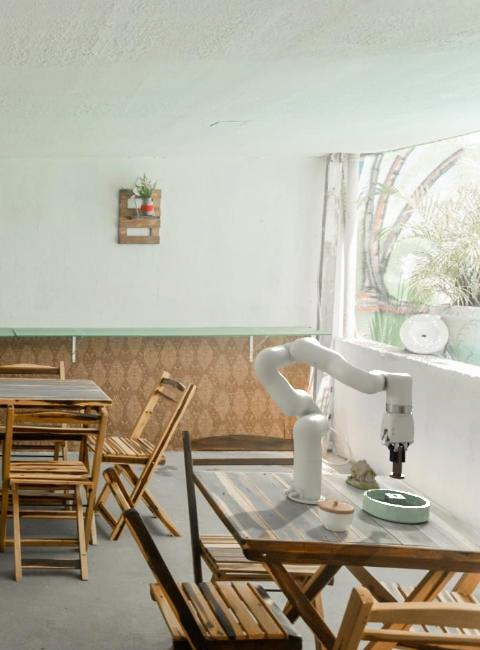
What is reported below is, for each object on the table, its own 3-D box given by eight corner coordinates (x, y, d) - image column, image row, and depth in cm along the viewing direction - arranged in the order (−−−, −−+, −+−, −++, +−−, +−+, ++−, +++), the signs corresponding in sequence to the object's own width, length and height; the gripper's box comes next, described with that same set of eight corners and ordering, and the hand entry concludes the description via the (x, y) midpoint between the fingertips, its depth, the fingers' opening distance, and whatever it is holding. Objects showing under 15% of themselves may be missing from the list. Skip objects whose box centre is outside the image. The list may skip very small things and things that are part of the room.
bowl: (396, 527, 225) (397, 509, 225) (350, 507, 244) (350, 491, 244) (443, 522, 230) (443, 505, 230) (394, 503, 249) (394, 487, 249)
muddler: (397, 479, 229) (398, 447, 229) (386, 476, 234) (387, 444, 233) (407, 478, 230) (408, 447, 230) (396, 475, 235) (397, 444, 234)
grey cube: (399, 507, 241) (400, 494, 241) (405, 512, 237) (405, 498, 236) (384, 506, 242) (384, 493, 242) (389, 511, 238) (390, 497, 237)
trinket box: (352, 536, 216) (353, 508, 216) (315, 530, 222) (316, 502, 222) (354, 526, 225) (355, 499, 225) (318, 520, 231) (319, 493, 231)
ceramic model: (342, 478, 279) (342, 454, 278) (371, 479, 277) (372, 456, 277) (356, 489, 265) (357, 464, 265) (386, 490, 263) (387, 465, 263)
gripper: (408, 406, 236) (406, 457, 237) (370, 408, 233) (369, 460, 234) (427, 410, 229) (425, 463, 230) (388, 412, 225) (387, 466, 226)
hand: (397, 461), depth 232 cm, fingers closed on muddler, 2 cm apart
